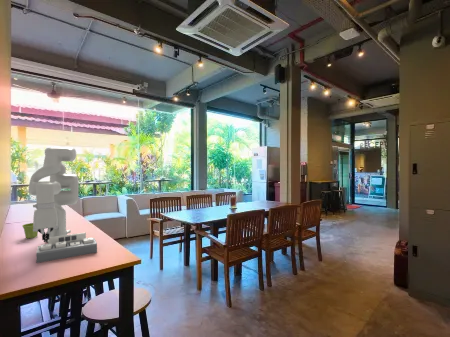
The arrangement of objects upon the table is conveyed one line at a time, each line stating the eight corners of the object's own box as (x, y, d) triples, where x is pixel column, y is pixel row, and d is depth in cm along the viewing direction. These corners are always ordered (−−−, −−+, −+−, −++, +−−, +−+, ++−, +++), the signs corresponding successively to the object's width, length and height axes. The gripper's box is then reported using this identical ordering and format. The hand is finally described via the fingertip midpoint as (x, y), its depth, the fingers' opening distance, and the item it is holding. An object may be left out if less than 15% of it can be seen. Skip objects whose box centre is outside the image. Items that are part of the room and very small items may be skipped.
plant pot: (28, 240, 160) (28, 226, 160) (18, 238, 163) (18, 225, 163) (43, 236, 169) (43, 223, 168) (33, 234, 172) (33, 222, 171)
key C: (70, 250, 135) (70, 245, 135) (69, 248, 139) (69, 242, 138) (80, 249, 137) (80, 243, 137) (79, 246, 141) (79, 241, 141)
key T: (84, 246, 138) (83, 240, 138) (83, 243, 142) (83, 238, 142) (93, 244, 141) (93, 239, 141) (92, 242, 145) (92, 237, 145)
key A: (40, 253, 127) (40, 247, 127) (40, 250, 131) (40, 244, 131) (51, 251, 130) (51, 245, 130) (51, 248, 134) (51, 243, 134)
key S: (55, 250, 131) (55, 244, 131) (55, 248, 135) (55, 242, 135) (66, 249, 134) (66, 243, 134) (65, 246, 137) (65, 241, 137)
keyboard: (36, 262, 124) (36, 245, 123) (38, 255, 134) (37, 238, 133) (97, 252, 139) (96, 236, 138) (94, 246, 149) (94, 231, 148)
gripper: (26, 208, 123) (26, 245, 123) (62, 205, 131) (62, 240, 131) (28, 206, 129) (28, 241, 129) (62, 204, 137) (62, 237, 137)
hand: (45, 241), depth 130 cm, fingers closed
